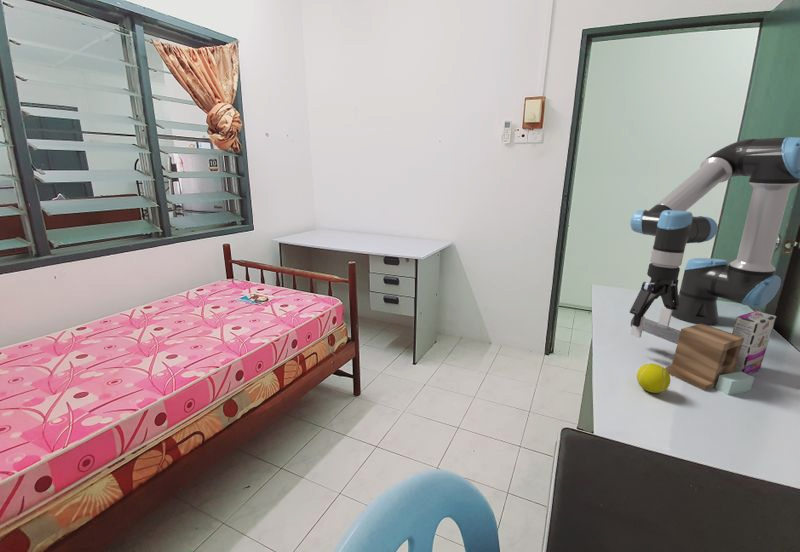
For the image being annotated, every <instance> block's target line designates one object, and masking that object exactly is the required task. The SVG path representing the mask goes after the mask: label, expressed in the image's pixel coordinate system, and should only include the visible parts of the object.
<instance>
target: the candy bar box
mask: <svg viewBox="0 0 800 552" xmlns="http://www.w3.org/2000/svg"><path fill="white" fill-rule="evenodd" d="M776 318H777V316H776V315H773V314H770V313H767V312H762V311H758V310H754V311H751V312H748V313H745V314H742V315H738V316H736V319H735V322H734V326H733V330H732V334H735V335H738V336H741V337H744V341H743V344H742V347H741V350H740V353H739V357H738V360H737V363H736V366H735V369H734V371H735V372H743V373H746V374H748V375H750V374H751V373H754V372H756V371H759V370H760V369H761V366H762V364H763V360H764V358H765V354H766V351H767V347H768V344H769V342H770V338H771V335H772V332H773V328H774V327H775V326H774V325H775V322H776Z"/></svg>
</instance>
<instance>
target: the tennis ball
mask: <svg viewBox="0 0 800 552" xmlns="http://www.w3.org/2000/svg"><path fill="white" fill-rule="evenodd" d="M636 380H637V383H638V385H639V386H640V387H641V388H642V389H643V390H645V391H647V392H649V393H652V394H653V393H654V394H659V393H662V392H665V391H666V390H667V389H668V388H669V387H670V384H671V375H670V374H669V373H668V371H667V370H666V369H665V367H664V366H661V365H659V364H657V363H651V362H650V363H645V364H643V365H642V366H640V367H639V368H638V370H637V374H636Z"/></svg>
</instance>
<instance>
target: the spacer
mask: <svg viewBox="0 0 800 552" xmlns="http://www.w3.org/2000/svg"><path fill="white" fill-rule="evenodd" d="M754 380H755V377H754V376H752V375H750V374H746V373H743V372H736V373H730V374H724V375H719V378H718V382H717V385H716V386H715V387H714V389H716V390H718V391H720V392H722V393H723V394H724V395H727V396H729V395H735V394H740V393H741V394H742V393H745V392H750V391H751V389H752V386H753V383H754Z"/></svg>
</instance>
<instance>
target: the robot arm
mask: <svg viewBox="0 0 800 552" xmlns="http://www.w3.org/2000/svg"><path fill="white" fill-rule="evenodd" d="M741 176H742V177H749V178H748V179H749V180H748V184H749V185H750V186H751V187H752V189H753V190H752V194H751V198H750V201H749V205H748V209H747V213H746V219H745V222H744V227H743V231H742V235H741V239H740V244H739V247H738V252H737V257H736V259H734V260H733V261H730V263H728V262H729V261H727V260H725V259H721V258H711V257H710V258H707V257H704V258H703V257H697V258H694V257H693V258H690V259H688V260H687V262H686V265H685V267H684V272H683V275H682V280H681V284H680V288H678V285H679V275H680V270H681V268H680V266H682V264H683V258H684V254H685V249H686V245H687V244H701V243H703V242H708V241H711V240H712V239H713V238H715V237H716V235H717V233H718V230H719V229H718V224H717V222H716V220H714V219H713V218H711V217H709V216H702V215H698V216H693V213H692V212H691V211H688V210H689V209H690V208H692V207H693V206H694V205H695V204H696V203H697V202H698V201H700V199H702V198H703V197H705V196H706V195H707V194H708V193H709V192H710V191H712V189H714V188H715V187H716V186H717V185H719V184H720V183H724V182H727V181H728V180H730V179H731V178H733V177H741ZM799 184H800V137H794V136H793V137H791V136H788V137H773V138H772V137H770V138H768V137H767V138H747V139H742V140H738V141H736V142H733V143H731V144H728V145H726V146H724V147H722V148H720V149H718V150H717V151H715V152H713V153H712V154H711V155H710V156H708V157H706V158H705V159H704V160H703V161H702V162H701V163H700V166H699V168H698V169H697V170H696V171H694V173H692V174H691V175H690V176H689V177H688V178H686V179H685V180H683V181H682V182H681V184H679V185H678V186H677V187H675V188H674V189H673V190H672V191H671V192H669V193H668V194H667V195H666V196H665V197H664V198H663V197H662V198H661V200H660V201H658V202H657V203H656V204H655V205H654V206H653V207H651V208H650V209H648V210H647V209H640V210H637V211H635V212H634V213H633V215H632V217H631V218H630V221H629V223H630V224H629V225H630V227H631V230H632V231H633V232H635V233H638V234H642V235H646V236H647V235H648V236H651V237H654V241H653V242H654V243H653V246H652V250H651V251H650V252H651V256H650V263H649V265H648V268H647V273H646V275H647V276H648V277H650V281H649V282H647V281H643V282H642V285H641V288H640V291H639V292H638V295H637V296H636V298H635V300H634V302H633V304H632V305H631V308H630V309H629V314H632V315H633V317H634V319H633V324H632V327H631V329H630V335H631V336H634V337H636V338H642V333H643V331H642V329H643V325H644V320H645V318H646V316H645V314H646V313H647V311H648V310H649V308H650V307H651V305H652V304H653V303H654V301H655V300H657V299H658V298H659V297H661V300H662V304H663V306H662V307H661V310H660V315H659V320H658V323H660V324H663V325H665V326H668V327H670V323H671V319H672V317H675V318H676V319H679V320H682V321H684V322H685V321H686V322H689V323H693V324H701V323H702V324H705V325H716V324H717V323H718V320H719V311H718V310H719V309H718V304H717V301H718V298H721V299H723V300H727V301H732V302H735V303H737V304H741V305H743V306H749V307H753V308H762V307H764V306H767V304H769V303H770V302H771V301H772V300H773V299H774V298H775V296H776V295H777V294H778V291H780V290H779V289H780V287H781V284H782V279H781V277H780V276H778V275H775V273H776V267H775V266H774V265H773V264H772V259H773V255H774V252H775V247H776V245H777V240H778V237H779V234H780V231H781V225H782V222H783V218H784V214H785V211H786V208H787V203H788V201H789V200H788V199H789V196H790V193H791V190H792V189H793V188H794V187H796V186H797V185H799ZM728 264H729V265H728Z"/></svg>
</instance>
